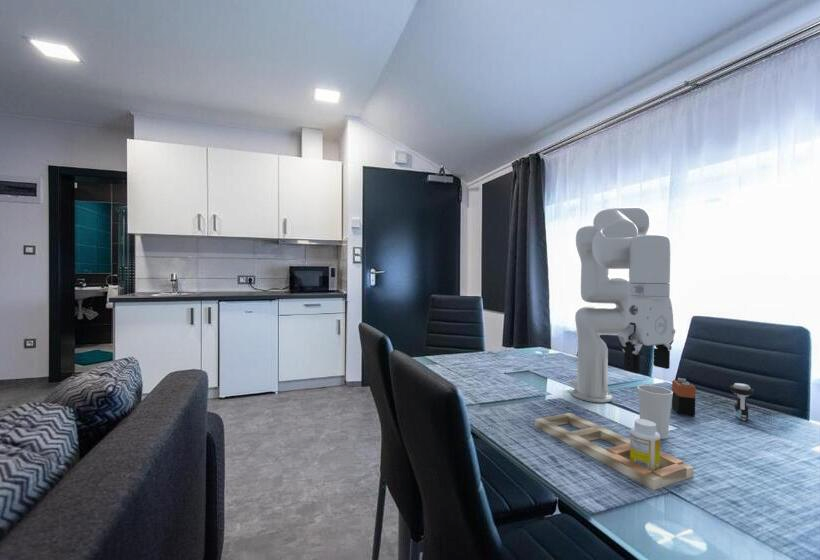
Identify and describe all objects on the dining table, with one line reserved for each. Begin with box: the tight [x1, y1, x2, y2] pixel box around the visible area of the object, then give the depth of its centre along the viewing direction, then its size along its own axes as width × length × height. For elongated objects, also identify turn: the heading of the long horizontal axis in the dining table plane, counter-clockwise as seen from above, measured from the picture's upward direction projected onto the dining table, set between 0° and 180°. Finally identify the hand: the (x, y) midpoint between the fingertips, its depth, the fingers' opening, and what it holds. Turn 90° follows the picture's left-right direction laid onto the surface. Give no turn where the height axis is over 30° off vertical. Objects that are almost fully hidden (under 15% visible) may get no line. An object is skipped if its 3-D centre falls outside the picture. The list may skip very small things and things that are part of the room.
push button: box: [729, 382, 755, 421], centre depth 110 cm, size 7×5×10 cm
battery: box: [671, 377, 697, 417], centre depth 115 cm, size 4×7×10 cm, turn 160°
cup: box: [636, 384, 673, 440], centre depth 98 cm, size 8×8×12 cm
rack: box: [534, 412, 695, 491], centre depth 90 cm, size 33×13×2 cm, turn 23°
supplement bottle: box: [629, 418, 661, 471], centre depth 80 cm, size 6×6×10 cm
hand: (646, 369), depth 80 cm, fingers open, 9 cm apart
